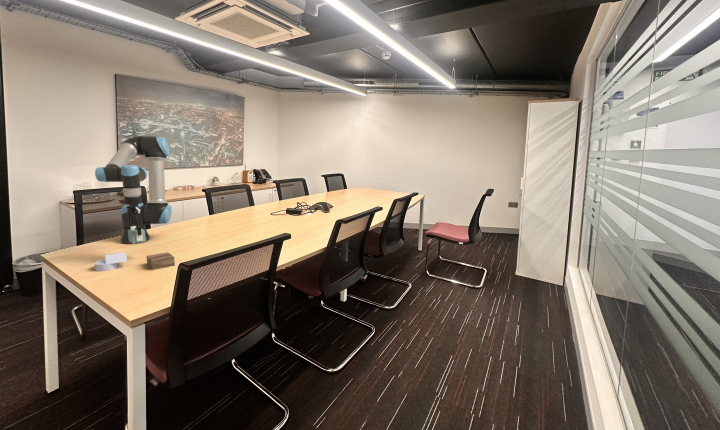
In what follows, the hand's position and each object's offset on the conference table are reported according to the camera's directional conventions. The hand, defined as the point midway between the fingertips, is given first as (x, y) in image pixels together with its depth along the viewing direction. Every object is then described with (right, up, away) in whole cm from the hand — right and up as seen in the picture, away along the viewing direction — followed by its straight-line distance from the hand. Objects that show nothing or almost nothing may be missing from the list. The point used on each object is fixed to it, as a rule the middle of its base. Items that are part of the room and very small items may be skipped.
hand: (137, 239), depth 185 cm
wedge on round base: (-6, -13, -10) cm, 18 cm away
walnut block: (+15, -13, -5) cm, 21 cm away
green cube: (0, -1, 0) cm, 1 cm away
